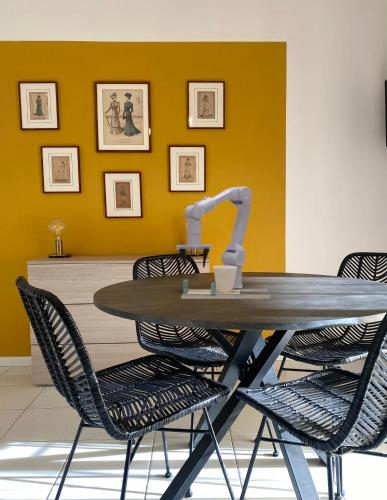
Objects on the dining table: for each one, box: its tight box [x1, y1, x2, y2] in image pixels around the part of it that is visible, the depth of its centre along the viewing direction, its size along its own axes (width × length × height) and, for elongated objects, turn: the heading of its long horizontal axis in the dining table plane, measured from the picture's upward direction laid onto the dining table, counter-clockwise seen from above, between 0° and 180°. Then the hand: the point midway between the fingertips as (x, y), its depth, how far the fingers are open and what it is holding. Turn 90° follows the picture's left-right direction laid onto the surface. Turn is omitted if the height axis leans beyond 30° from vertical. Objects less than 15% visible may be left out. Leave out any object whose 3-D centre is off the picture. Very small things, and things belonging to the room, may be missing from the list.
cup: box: [212, 265, 237, 293], centre depth 202 cm, size 10×10×11 cm
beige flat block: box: [182, 279, 241, 294], centre depth 202 cm, size 11×23×6 cm, turn 85°
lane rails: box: [180, 282, 272, 300], centre depth 200 cm, size 17×34×6 cm, turn 85°
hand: (194, 267), depth 208 cm, fingers open, 7 cm apart
